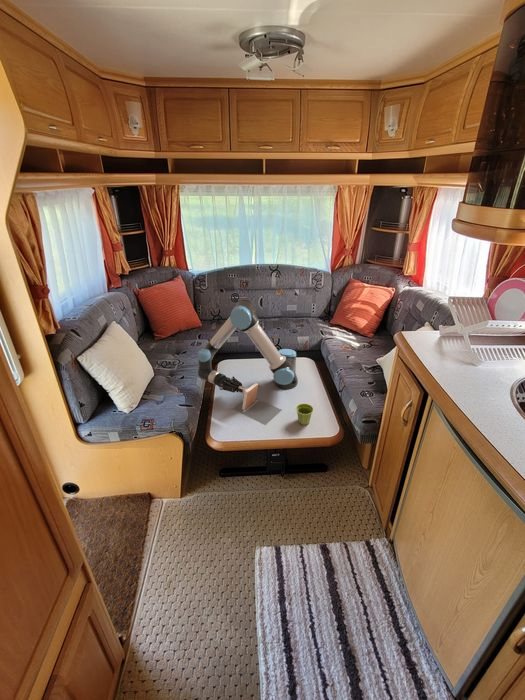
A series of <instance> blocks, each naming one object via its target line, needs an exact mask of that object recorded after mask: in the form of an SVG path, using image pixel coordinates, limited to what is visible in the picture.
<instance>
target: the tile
mask: <svg viewBox="0 0 525 700" xmlns="http://www.w3.org/2000/svg"><path fill="white" fill-rule="evenodd" d="M258 386H259V383H258V382H255V383H253V384H252V385H250V387H248V388H246V389H247V390H245V394H244V393H243V394H244V395H243V399H242V400H243V406H242V409H243V410H245V409H246V408H247V407H249V406H250V405H251V404H252V403H254V402H255V399H256V398H257V393H258V388H259V387H258Z"/></svg>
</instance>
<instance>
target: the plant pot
mask: <svg viewBox="0 0 525 700" xmlns="http://www.w3.org/2000/svg"><path fill="white" fill-rule="evenodd" d="M295 410H296V413H297V421H298V424H301V425H303V426H306V425H309V424H310V422H311V418H312V414H313V413H314V407H313V406H312V405H311V404H309V403H300V404H297V406H295Z"/></svg>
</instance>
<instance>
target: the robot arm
mask: <svg viewBox="0 0 525 700" xmlns="http://www.w3.org/2000/svg"><path fill="white" fill-rule="evenodd" d="M230 312H231V313H230V316H229V317H228V318H227V320H225V322H224V323H223V324H222V326H221V327H220V328H219V329H218V330H217V331H216V333H215V334H214V336H213V337H212V338H211V339H210V341H208V342H207V344H206V345H205V347H204V348H202V349H200V350H198V352H197V361H198V367H197V368H196V371H195V374H196V377H198V378H200V379H201V380H204V381H206V382H209V383H211V384H213V385H215V386H218V388H219V390H221V391H222V390H223V391H226V392H230V393H241V394H245V390H247V389H248V388H246V387H244V386H243V383H242V382H241V381H240V380H238V379H237V378H235V376H232V377H227V376H226V375H225V374H223V373H221V372H218V371H216V370H214V369H213V368H212V360H213V358H214V357H215V355H216V353H217V352H218V351H219V350H220V348H221V347H222V346H223V345H224V344H225V342H226V341H227V340H228V339H229V338H230V336H232V334H233V333H234V332H235V330H237V329H239V330H240V331H241V333H246V334H247V336H248V337H249V339H250V340H251V341H252V343H253V345H255V347H256V348H257V350H258V351H259V352H260V354H261V355H262V356H263V358H264V359H265V360H266V361H267V363H268V365H269V366H268V368H269V370H270V371H271V373H272V374H273V376H272V377H273V380H274V381H273V384H274V385H275V386H276V387H277V388H279V389H282V390H283V389H284V390H290V389H293V388H295V387H296V386H297V385H298V381H299V379H298V377H297V373H296V369H297V365H296V364H297V351H295V350H293V349H292V348H291V349H290V348H282V349H279V350H278V349H277V348H276V346H275V345H274V343H273V342H272V341H271V339H270V338H269V336H268V335H267V333H266V332H265V331H264V330H263V327H262V326H261V325H260V324H259V321H260V319H259V318H258V316H257V315H256V314H255V312H256V305H255V303H254V302H253V300H251V299H249V298H242V299H240V300H238V301H237V302H236V304H235V306H234V307H233V309H232V310H231V311H230Z"/></svg>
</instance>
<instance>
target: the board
mask: <svg viewBox="0 0 525 700" xmlns="http://www.w3.org/2000/svg"><path fill="white" fill-rule="evenodd" d="M243 400H244V399H242V400H241V401H240V402H239V403H237V404H236V405H234V406H233V407H232V408H231V409H232V410H234V411H236V412H237V413H239V414H242V415H243V416H246V417H248V418H250V419H253V420H254V421H256V422H259V423H260V424H261V425H265V426H266V425H268V423H270V422H271V421H272V420H273V419H274V418H275V417H276V416H277V415H279V413H280V412H282V411H283V409H282V408H278V407H277V406H275V405H272V404H270V403H267V402H266V401H264V400H261V399H259V398H257V397H256V399H255V402H254V403H252V404H251V405H250V406H249V407H247V408H246V409H245V410H243V409H242V406H243Z"/></svg>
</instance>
